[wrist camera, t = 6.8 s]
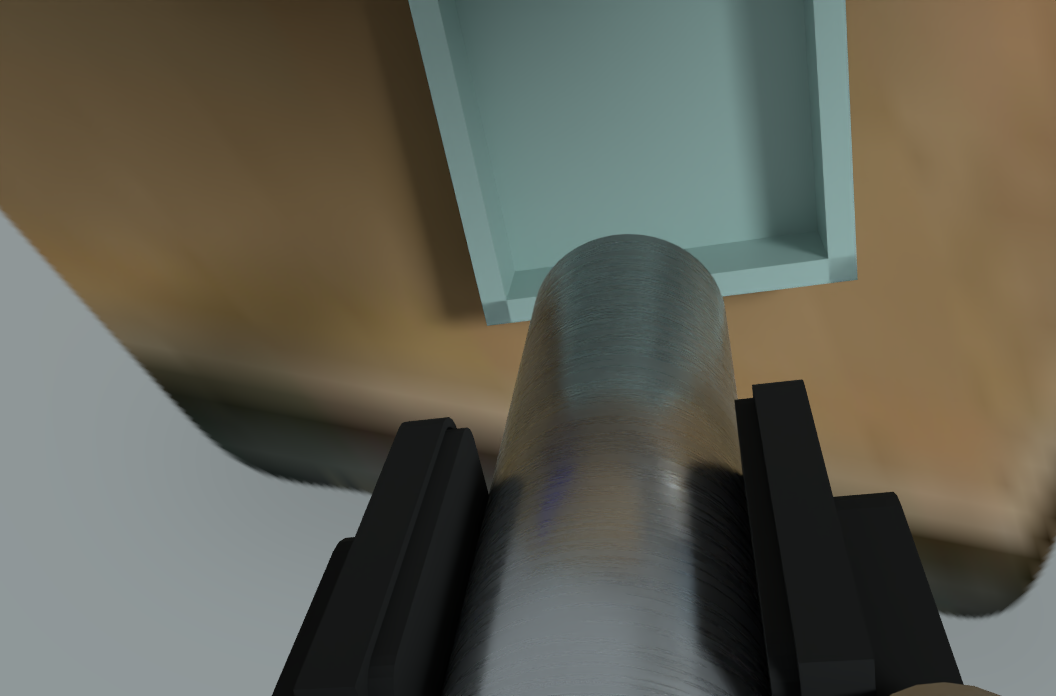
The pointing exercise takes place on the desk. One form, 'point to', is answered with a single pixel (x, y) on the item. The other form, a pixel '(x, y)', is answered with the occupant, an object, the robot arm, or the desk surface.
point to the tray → (645, 135)
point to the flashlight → (617, 495)
